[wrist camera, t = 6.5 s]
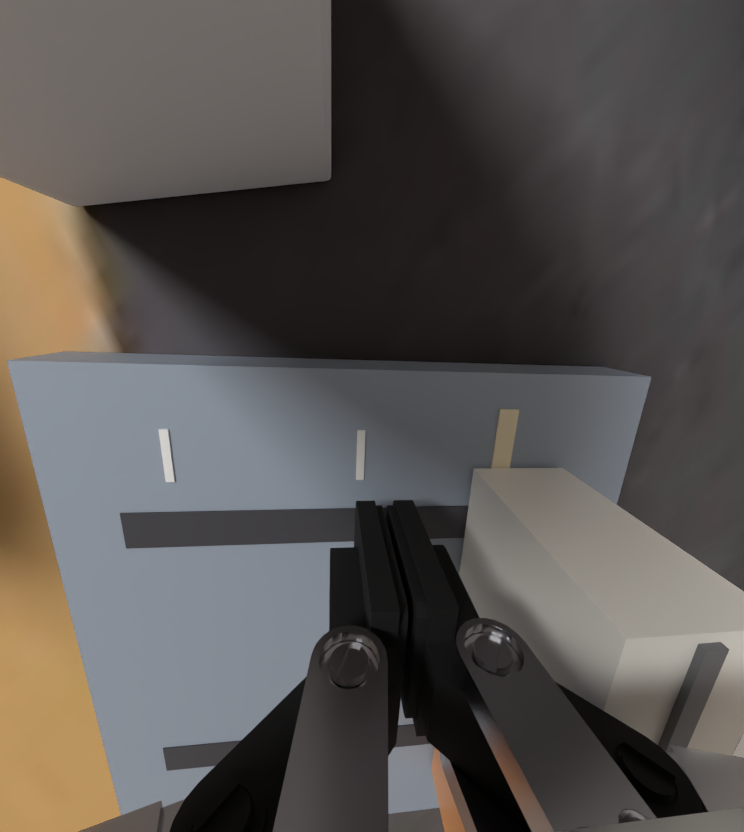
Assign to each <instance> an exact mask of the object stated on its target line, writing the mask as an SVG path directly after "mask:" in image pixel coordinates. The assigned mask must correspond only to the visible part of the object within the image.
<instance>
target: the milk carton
mask: <svg viewBox="0 0 744 832" xmlns="http://www.w3.org/2000/svg"><path fill="white" fill-rule="evenodd" d="M0 177H2V178H4V179H7V180H9V181H12V182H14V183H17V184H19V185H22V186H24V187H27V188H29V189H32V190H34V191H37V192H39V193H42V194H44V195H47V196H49V197H52V198H54V199H57V200H59V201H62V202H64V203H67V204H69V205H73V206H88V205H98V204H107V203H117V202H127V201H136V200H146V199H156V198H166V197H175V196H185V195H195V194H204V193H214V192H224V191H233V190H243V189H253V188H262V187H272V186H282V185H291V184H301V183H311V182H320V181H328V180H330V178H331V0H0Z"/></svg>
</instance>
